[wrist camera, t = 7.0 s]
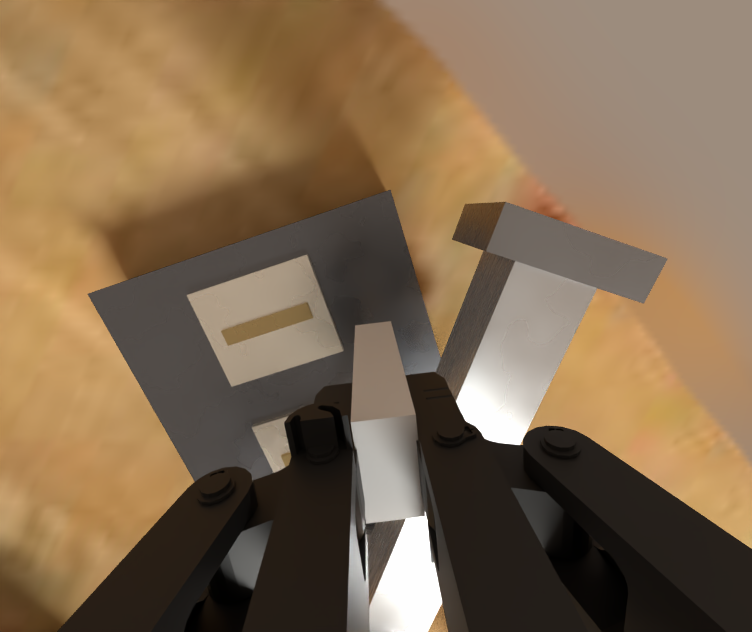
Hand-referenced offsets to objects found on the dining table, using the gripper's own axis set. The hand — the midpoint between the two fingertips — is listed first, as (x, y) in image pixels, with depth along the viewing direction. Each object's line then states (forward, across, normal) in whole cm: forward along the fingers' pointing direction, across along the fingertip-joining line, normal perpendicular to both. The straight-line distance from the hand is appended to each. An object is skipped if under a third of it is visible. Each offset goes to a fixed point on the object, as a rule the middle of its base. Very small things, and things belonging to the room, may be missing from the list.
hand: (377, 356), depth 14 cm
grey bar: (0, +1, -5) cm, 5 cm away
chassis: (+7, -4, -5) cm, 9 cm away
